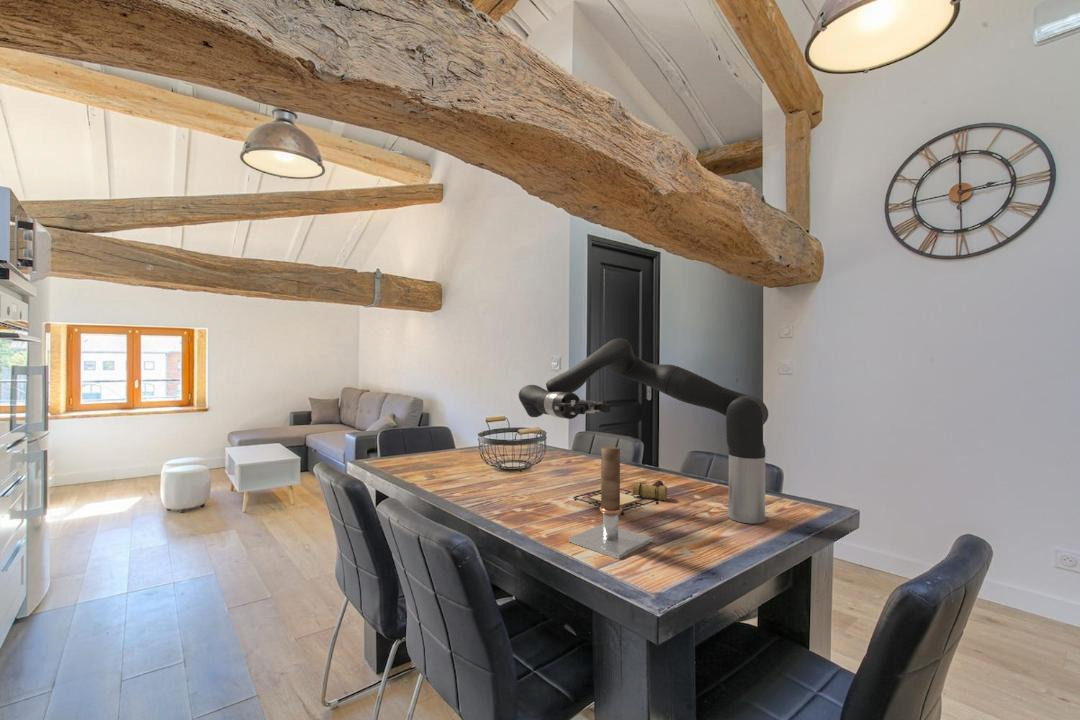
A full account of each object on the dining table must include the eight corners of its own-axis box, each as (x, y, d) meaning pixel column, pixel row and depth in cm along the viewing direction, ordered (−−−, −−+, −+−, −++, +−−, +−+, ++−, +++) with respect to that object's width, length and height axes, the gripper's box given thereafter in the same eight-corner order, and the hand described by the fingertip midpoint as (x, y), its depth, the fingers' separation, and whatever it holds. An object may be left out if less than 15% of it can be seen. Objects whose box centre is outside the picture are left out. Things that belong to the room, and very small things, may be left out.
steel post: (603, 527, 124) (603, 496, 124) (652, 541, 114) (652, 507, 114) (568, 542, 114) (569, 508, 114) (618, 558, 104) (619, 521, 104)
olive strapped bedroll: (647, 474, 171) (676, 477, 166) (646, 487, 170) (675, 491, 166) (632, 483, 152) (664, 487, 147) (632, 498, 151) (664, 502, 147)
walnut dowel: (608, 504, 117) (608, 446, 117) (623, 507, 114) (623, 448, 114) (597, 507, 114) (597, 448, 114) (612, 511, 111) (613, 450, 111)
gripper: (541, 392, 138) (575, 396, 125) (581, 391, 146) (617, 394, 132) (541, 419, 138) (575, 425, 125) (581, 416, 146) (617, 421, 132)
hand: (597, 409), depth 128 cm, fingers open, 8 cm apart
